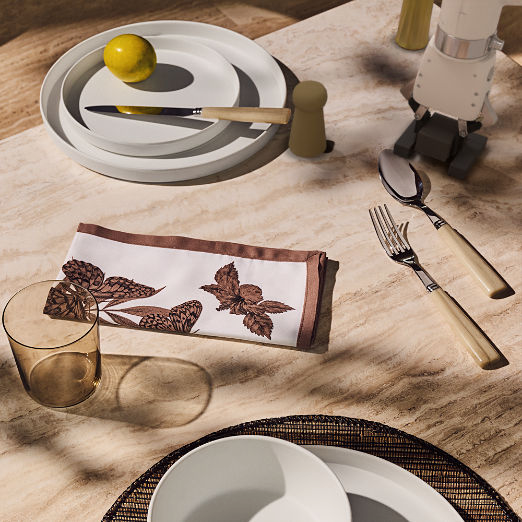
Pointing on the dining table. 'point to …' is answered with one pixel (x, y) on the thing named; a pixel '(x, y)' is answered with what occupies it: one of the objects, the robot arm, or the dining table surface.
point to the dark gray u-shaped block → (459, 163)
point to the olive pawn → (308, 119)
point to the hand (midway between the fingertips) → (438, 143)
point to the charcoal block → (437, 136)
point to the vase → (414, 24)
